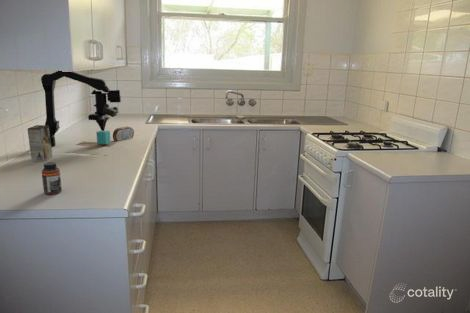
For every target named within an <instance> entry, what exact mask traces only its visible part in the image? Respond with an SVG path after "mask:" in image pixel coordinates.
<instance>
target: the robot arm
mask: <svg viewBox="0 0 470 313" xmlns="http://www.w3.org/2000/svg"><path fill="white" fill-rule="evenodd" d="M64 77H65V78H68V79H71V80H74V81H77V82H80V83H83V84H85V85H88V86H89V87H92V88H93V90H92V92H91V93H90V94H91V95H94V97H95V104H94V107H95V112H94V113H91V114H89V115H88V116H87V117H88V119H87V120H88V121H95V122H96V123H97V125H98V127H99V128H100V131H101V130H102V131H105V129H106V124H107V122H108V120H109V119H110V117H112V118H114V117H116V116H117V115H118V114H119V108H118V107H117V106H112V107H110V105H109V104H108V103H107V101H108V102H109V103H121V102H122V101H121V100H122V98H121V91H120V89H116V90H115V89H114V90H113V89H110V88H109V87H108V86H107V83H106V81H105V80H104V79H103V78H97V77H90V76H87V75H84V74H80V73H78V72H75V71H72V72H62V71H59V70H56V71H55V72H52V73H45V74H43V75H42V76H41V78H40V81H41V84H42V88H43V90H44V97H45V98H44V100H45V114H46V119H45V122H44V125H49V130H50V138H51V148H54V147H56V144H57V143H56V137H55V136H56V134H57V132H58V131H59V130H60V120H57V119H56V109H55V108H56V107H55V88H56V84H57V80H60V79H62V78H64ZM109 116H110V117H109Z"/></svg>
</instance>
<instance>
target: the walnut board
mask: <svg viewBox="0 0 470 313" xmlns="http://www.w3.org/2000/svg"><path fill="white" fill-rule="evenodd" d="M114 145H116V143H113V142H110V143H108V144H107V145H101V144H97V141H95V142H94V141H82V142H79V143H76V144H75V146H85V147H86V146H88V147H101V148H102V147H103V148H109V147H112V146H114Z"/></svg>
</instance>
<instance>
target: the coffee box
mask: <svg viewBox="0 0 470 313" xmlns="http://www.w3.org/2000/svg"><path fill="white" fill-rule="evenodd" d="M27 135H28V136H27V137H28V144H29V150H30V151H29V152H30V158H31V159H30V160H31V162H46V161H48V160H49V159H52V158H53V149H52V148H53V147H51V138H50V130H49V125H45V124H44V125H42V124H41V125H39V124H37V125H34V126H33V125H32V126H31V127H28V128H27Z"/></svg>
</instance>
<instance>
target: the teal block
mask: <svg viewBox="0 0 470 313" xmlns="http://www.w3.org/2000/svg"><path fill="white" fill-rule="evenodd" d="M96 142H97V144H108V143H111V130H104V131H102V130H101V129H100V130H98V131H96Z"/></svg>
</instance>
